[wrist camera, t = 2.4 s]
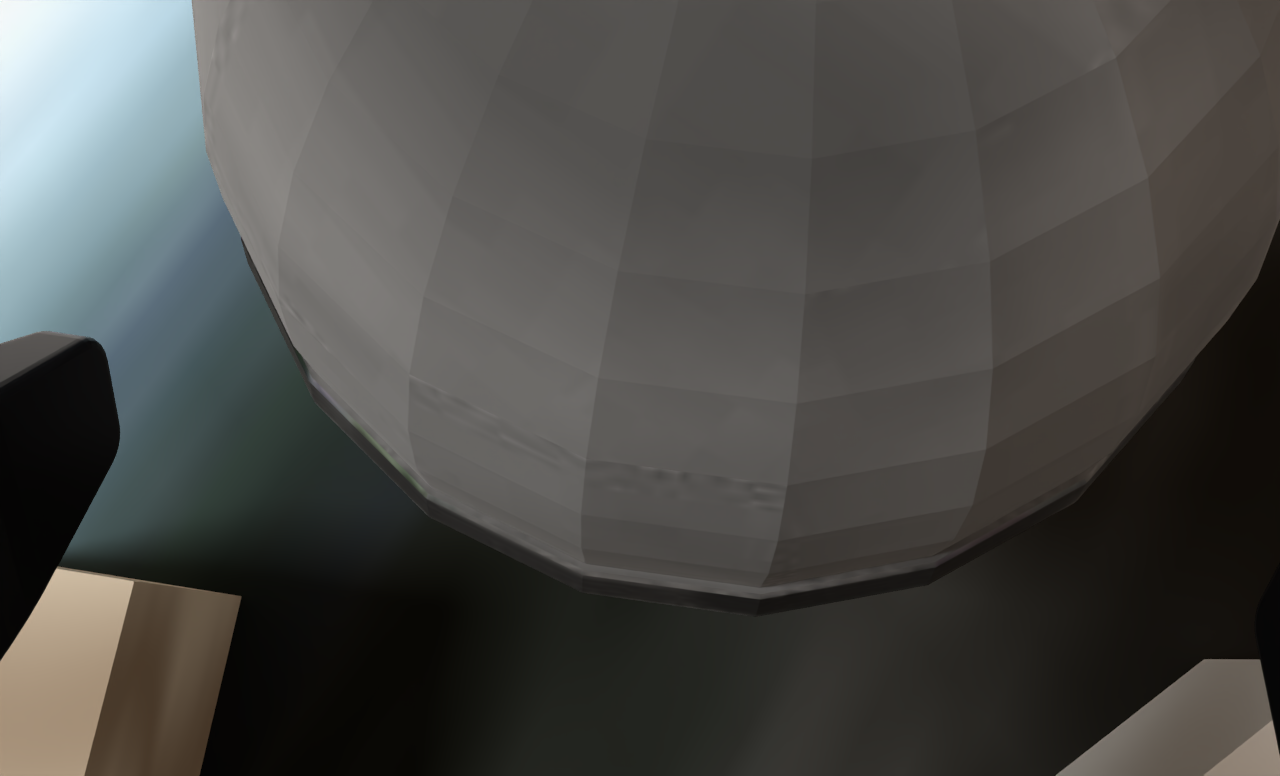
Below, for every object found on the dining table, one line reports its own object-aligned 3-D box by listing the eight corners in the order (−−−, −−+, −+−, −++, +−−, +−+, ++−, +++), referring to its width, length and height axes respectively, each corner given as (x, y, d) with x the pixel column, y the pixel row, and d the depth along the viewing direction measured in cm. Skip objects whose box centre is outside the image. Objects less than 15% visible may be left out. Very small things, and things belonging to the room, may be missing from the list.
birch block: (184, 847, 18) (51, 901, 14) (-55, 806, 18) (-250, 847, 14) (243, 596, 19) (133, 581, 15) (14, 559, 19) (-151, 534, 15)
